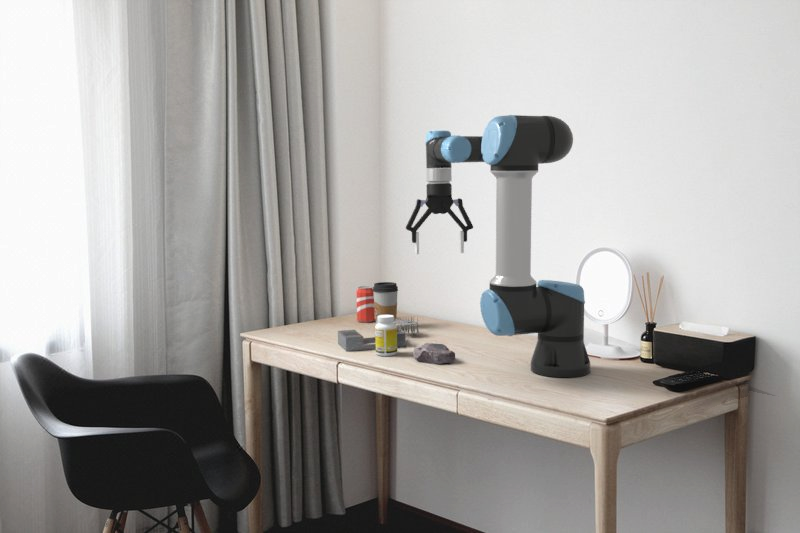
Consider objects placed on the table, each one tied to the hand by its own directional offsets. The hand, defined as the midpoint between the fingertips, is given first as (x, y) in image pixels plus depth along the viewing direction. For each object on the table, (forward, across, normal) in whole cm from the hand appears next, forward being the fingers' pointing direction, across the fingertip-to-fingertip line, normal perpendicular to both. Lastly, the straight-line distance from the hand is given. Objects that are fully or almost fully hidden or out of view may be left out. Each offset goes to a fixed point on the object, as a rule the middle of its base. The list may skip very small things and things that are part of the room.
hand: (439, 253), depth 252 cm
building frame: (+27, +10, -8) cm, 30 cm away
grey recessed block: (+27, +22, +5) cm, 35 cm away
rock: (+27, +6, +27) cm, 39 cm away
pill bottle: (+27, +18, +17) cm, 37 cm away
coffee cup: (+27, +15, -20) cm, 37 cm away
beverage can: (+27, +21, -34) cm, 48 cm away
